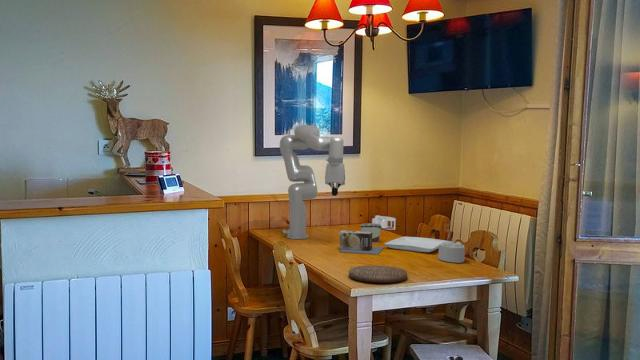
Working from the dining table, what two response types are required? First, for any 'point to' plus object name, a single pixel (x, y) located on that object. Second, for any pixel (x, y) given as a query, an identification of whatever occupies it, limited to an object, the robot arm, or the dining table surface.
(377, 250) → the mat
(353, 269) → the trivet
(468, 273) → the dining table surface
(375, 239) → the food container
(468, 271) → the dining table surface
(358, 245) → the coffee box
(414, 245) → the square plate
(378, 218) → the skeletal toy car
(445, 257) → the lumpy-topped squat cylinder
